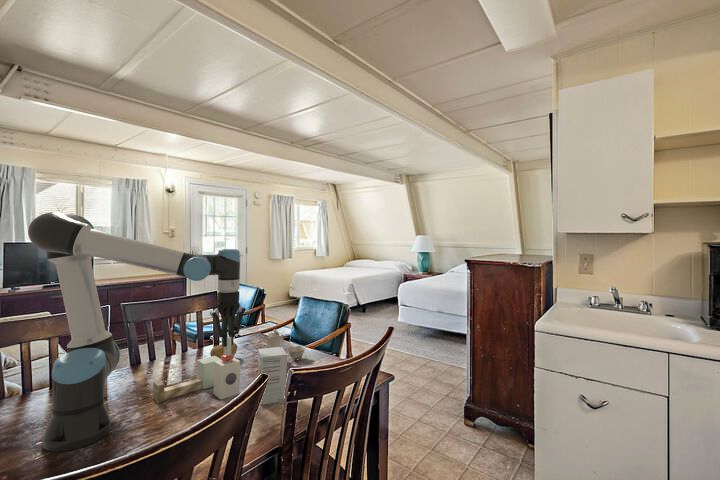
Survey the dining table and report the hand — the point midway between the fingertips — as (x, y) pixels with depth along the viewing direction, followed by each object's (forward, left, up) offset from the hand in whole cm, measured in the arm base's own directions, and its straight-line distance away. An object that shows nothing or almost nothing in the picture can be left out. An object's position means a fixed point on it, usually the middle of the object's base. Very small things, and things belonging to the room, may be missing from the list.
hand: (227, 354), depth 126 cm
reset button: (0, 0, -5) cm, 5 cm away
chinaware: (+30, +11, -15) cm, 36 cm away
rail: (-7, +12, -14) cm, 20 cm away
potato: (+15, +33, -15) cm, 39 cm away
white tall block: (0, 0, -14) cm, 14 cm away
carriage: (-1, +12, -14) cm, 19 cm away
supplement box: (+10, -14, -15) cm, 23 cm away
